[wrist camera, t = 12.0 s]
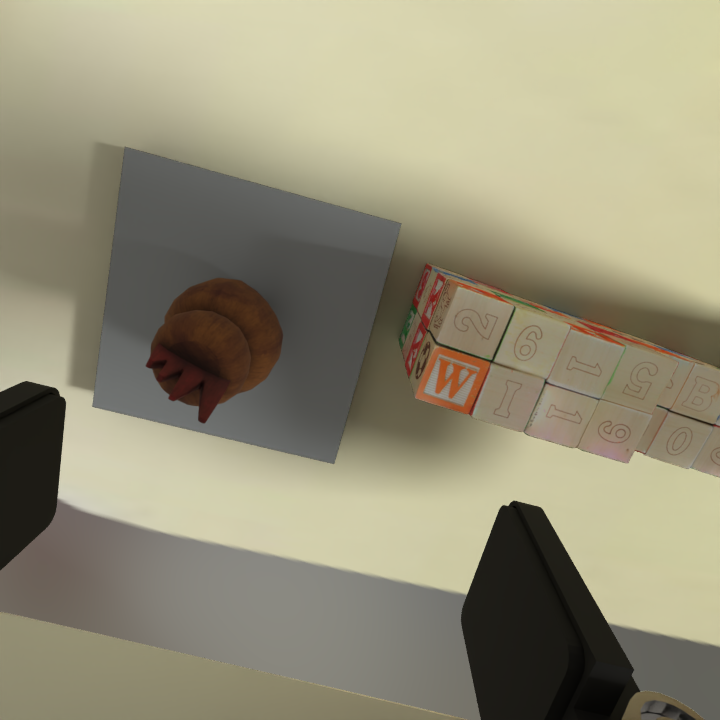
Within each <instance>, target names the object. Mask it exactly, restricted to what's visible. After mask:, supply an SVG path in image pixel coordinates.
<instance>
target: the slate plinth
mask: <svg viewBox="0 0 720 720" xmlns="http://www.w3.org/2000/svg"><path fill="white" fill-rule="evenodd" d="M400 227H401V223H397V222H394V221H390V220H387V219H383V218H379V217H376V216H372V215H369V214H365V213H361V212H358V211H354V210H351V209H347V208H343V207H340V206H336V205H333V204H329V203H325V202H322V201H318V200H315V199H311V198H307V197H304V196H300V195H297V194H293V193H289V192H286V191H282V190H279V189H275V188H272V187H268V186H264V185H261V184H257V183H254V182H250V181H246V180H243V179H239V178H236V177H232V176H228V175H225V174H221V173H218V172H214V171H210V170H207V169H203V168H200V167H196V166H192V165H189V164H185V163H182V162H178V161H174V160H171V159H167V158H164V157H160V156H157V155H153V154H149V153H146V152H142V151H139V150H135V149H131V148H128V147H125V150H124V158H123V166H122V174H121V182H120V190H119V198H118V206H117V214H116V222H115V230H114V238H113V246H112V254H111V262H110V270H109V278H108V286H107V294H106V302H105V310H104V318H103V325H102V333H101V341H100V349H99V357H98V365H97V373H96V381H95V389H94V397H93V405H92V407H95V408H99V409H104V410H108V411H112V412H116V413H121V414H125V415H129V416H133V417H137V418H142V419H146V420H150V421H154V422H159V423H163V424H167V425H171V426H175V427H180V428H184V429H188V430H192V431H196V432H201V433H205V434H209V435H213V436H218V437H222V438H226V439H230V440H234V441H239V442H243V443H247V444H251V445H256V446H260V447H264V448H268V449H272V450H277V451H281V452H285V453H289V454H294V455H298V456H302V457H306V458H310V459H315V460H319V461H323V462H327V463H332V464H334V463H335V459H336V456H337V452H338V449H339V445H340V441H341V438H342V434H343V431H344V427H345V423H346V420H347V416H348V413H349V409H350V406H351V402H352V398H353V395H354V391H355V388H356V384H357V381H358V377H359V373H360V370H361V366H362V363H363V359H364V355H365V352H366V348H367V345H368V341H369V338H370V334H371V330H372V327H373V323H374V320H375V316H376V312H377V309H378V305H379V302H380V298H381V295H382V291H383V287H384V284H385V280H386V277H387V273H388V270H389V266H390V262H391V259H392V255H393V252H394V248H395V244H396V241H397V237H398V234H399V230H400ZM215 278H226V279H235V280H241V281H243V282H244V283H246V284H247V285H249V286H250V287H252V288H253V289H255V290H256V291H257V292H258V293H259V294H260V295H261V296H262V297H263V298H264V299H265V300H266V301H267V302H268V304H269V305H270V307H271V308H272V310H273V311H274V313H275V314H276V316H277V319H278V321H279V324H280V326H281V329H282V331H283V340H282V347H281V354H280V357H279V359H278V361H277V362H276V364H275V365H274V367H273V368H272V370H271V372H270V373H269V375H268V377H267V378H266V379H265V380H264V381H263V382H261V383H260V384H258V385H257V386H256V387H254V388H253V389H251V390H249V391H246V392H242V393H239V394H236V395H235V396H233V397H232V398H231V399H229V400H228V401H226V402H225V403H221V404H217V406H216V408H215V409H214V411H213V412H212V414H211V415H210V417H209V418H208V420H207V421H206V423H205V424H203V423H201V422H199V421H198V411H199V407H198V406H191V405H187V404H185V403H182V402H180V401H178V400H176V401H171V400H169V399H168V397H169V394H168V393H166V392H165V391H164V390H163V389H162V388H161V386H160V385H159V383H158V381H157V380H156V378H155V376H154V373H153V370H152V369H150V368H147V367H146V366H145V365H146V363H147V362H148V360H149V358H150V354H151V343H152V341H153V339H154V337H155V335H156V333H157V331H158V329H159V328H160V327H161V326H162V325H163V324H164V320H165V315H166V313H167V311H168V310H169V308H170V306H171V304H172V303H173V301H174V299H176V298H177V297H178V296H179V295H180V294H182V293H183V292H184V291H185V290H187V289H188V288H189V287H191V286H194V285H197V284H200V283H203V282H206V281H209V280H212V279H215Z"/></svg>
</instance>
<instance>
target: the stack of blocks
mask: <svg viewBox="0 0 720 720" xmlns="http://www.w3.org/2000/svg"><path fill="white" fill-rule="evenodd" d="M399 344H400V348H401V351H402V353H403V357H404V360H405V367H406V370H407V374H408V378H409V379H410V381H411V385H412V389H413V393H414V396H415V399H418V400H421V401H424V402H428V403H431V404H434V405H438V406H441V407H444V408H447V409H450V410H454V411H457V412H460V413H463V414H469V415H470V416H471V417H473V418H474V419H478V420H481V421H485V422H488V423H492V424H495V425H498V426H502V427H505V428H509V429H512V430H516V431H519V432H524V433H525V434H527V435H528V436H532V437H535V438H539V439H543V440H546V441H549V442H553V443H556V444H560V445H563V446H566V447H570V448H578V449H580V450H582V451H586V452H589V453H592V454H596V455H599V456H603V457H606V458H609V459H613V460H617V461H620V462H623V463H629V461H630V459H631V457H632V455H633V453H634V451H637V452H640V453H643V454H644V455H646V456H648V457H651V458H654V459H657V460H660V461H663V462H667V463H670V464H673V465H676V466H679V467H683V468H686V469H689V468H692V469H695V470H698V471H701V472H704V473H707V474H710V475H713V476H716V477H720V368H718V367H715V366H713V365H710V364H707V363H704V362H702V361H699V360H697V359H694V358H692V357H689V356H687V355H684V354H681V353H678V352H675V351H672V350H669V349H666V348H664V347H662V346H659V345H657V344H654V343H652V342H649V341H646V340H643V339H640V338H638V337H635V336H632V335H629V334H626V333H623V332H620V331H617V330H615V329H612V328H609V327H606V326H604V325H601V324H598V323H595V322H592V321H589V320H586V319H584V318H581V317H580V318H578V317H575V316H572V315H569V314H567V313H564V312H561V311H558V310H555V309H552V308H550V307H547V306H544V305H540V304H537V303H535V302H532V301H529V300H526V299H523V298H520V297H518V296H515V295H512V294H509V293H507V292H505V291H503V290H500V289H498V288H495V287H492V286H489V285H486V284H484V283H481V282H478V281H475V280H473V279H470V278H467V277H465V276H463V275H460V274H457V273H454V272H452V271H449V270H446V269H443V268H440V267H438V266H435V265H432V264H429V263H427V264H426V267H425V269H424V272H423V275H422V277H421V280H420V283H419V286H418V288H417V291H416V294H415V297H414V299H413V304H412V307H411V309H410V312H409V314H408V317H407V320H406V322H405V325H404V328H403V330H402V333H401V335H400V338H399Z"/></svg>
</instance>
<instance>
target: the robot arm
mask: <svg viewBox="0 0 720 720" xmlns="http://www.w3.org/2000/svg"><path fill="white" fill-rule="evenodd" d="M65 410H66V401H65V399H64V398H63V397H60V394H59V391H58V390H57V389H56V388H53V387H49V386H45V385H40V384H36V383H32V382H28V381H25V382H22V383H20V384H17V385H15V386H13V387H11V388H8V389H6V390H4V391H2V392H0V570H1V569H2V568H3V567H5V566H6V565H7V564H8V563H9V562H10V561H11V560H12V559H13V558H14V557H15V556H17V555H18V554H19V553H20V552H21V551H22V550H23V549H24V548H25V547H26V546H27V545H28V544H29V543H31V542H32V541H33V540H34V539H35V538H36V537H37V536H38V535H39V534H40V533H41V532H43V531H44V530H45V529H46V528H47V527H48V526H49V524H50V523H51V521H52V519H53V517H54V515H55V512H56V507H57V496H58V485H59V475H60V464H61V453H62V442H63V431H64V421H65ZM461 624H462V629H463V635H464V639H465V644H466V649H467V654H468V659H469V663H470V669H471V673H472V678H473V683H474V688H475V693H476V697H477V703H478V708H479V712H480V717H481V720H705V719H704V718H702V717H701V716H700V715H698V714H697V713H696V712H695V711H693V710H692V709H691V708H689V707H687V706H686V705H684V704H682V703H681V702H679V701H677V700H676V699H674V698H671V697H669V696H666V695H664V694H661V693H657V692H651V691H642V692H640V690H639V688H638V687H637V685H636V683H635V681H634V679H633V677H632V676H631V675H632V673H633V671H634V669H633V667H632V666H631V664H630V662H629V660H628V658H627V657H626V655H625V653H624V651H623V650H622V648H621V646H620V644H619V643H618V641H617V639H616V637H615V635H614V634H613V632H612V630H611V628H610V627H609V625H608V623H607V621H606V620H605V618H604V616H603V614H602V613H601V611H600V609H599V607H598V606H597V604H596V602H595V600H594V599H593V597H592V595H591V593H590V592H589V590H588V588H587V586H586V585H585V583H584V581H583V579H582V578H581V576H580V574H579V572H578V571H577V569H576V567H575V565H574V564H573V562H572V560H571V558H570V557H569V555H568V553H567V551H566V550H565V548H564V546H563V544H562V542H561V541H560V539H559V537H558V535H557V534H556V532H555V530H554V528H553V527H552V525H551V523H550V521H549V520H548V518H547V516H546V514H545V513H544V511H543V509H542V508H541V507H538V506H534V505H529V504H525V503H521V502H517V501H512V502H511V503H510V504H509V506H505V505H503V506H502V507H501V508H500V510H499V512H498V514H497V517H496V520H495V522H494V525H493V528H492V530H491V533H490V536H489V538H488V541H487V544H486V546H485V549H484V552H483V554H482V557H481V560H480V562H479V565H478V568H477V570H476V573H475V576H474V578H473V581H472V584H471V586H470V589H469V591H468V594H467V597H466V599H465V602H464V605H463V608H462V614H461ZM0 720H468V719H463V718H459V717H455V716H451V715H446V714H442V713H438V712H434V711H430V710H425V709H421V708H417V707H413V706H409V705H404V704H400V703H396V702H391V701H387V700H383V699H379V698H375V697H370V696H366V695H362V694H357V693H353V692H349V691H345V690H341V689H336V688H332V687H327V686H323V685H319V684H314V683H310V682H306V681H301V680H297V679H293V678H288V677H284V676H280V675H275V674H271V673H266V672H262V671H258V670H253V669H249V668H244V667H240V666H236V665H232V664H227V663H222V662H218V661H214V660H210V659H205V658H201V657H197V656H192V655H188V654H184V653H179V652H175V651H171V650H166V649H162V648H158V647H153V646H149V645H145V644H140V643H135V642H131V641H127V640H123V639H118V638H114V637H110V636H105V635H101V634H97V633H92V632H88V631H84V630H79V629H75V628H71V627H66V626H61V625H58V624H53V623H49V622H45V621H40V620H36V619H32V618H27V617H22V616H18V615H14V614H9V613H5V612H1V611H0Z"/></svg>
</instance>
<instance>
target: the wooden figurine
mask: <svg viewBox="0 0 720 720" xmlns="http://www.w3.org/2000/svg"><path fill="white" fill-rule="evenodd" d="M282 340H283V331H282V329H281V326H280V324H279V321H278V319H277V316H276V314H275V313H274V311H273V310H272V308H271V307H270V305H269V304H268V302H267V301H266V300H265V299H264V298H263V297H262V296H261V295H260V294H259V293H258V292H257V291H256V290H255V289H253V288H252V287H250V286H249V285H247V284H246V283H244V282H243V281H241V280H235V279H226V278H215V279H212V280H209V281H206V282H203V283H200V284H197V285H194V286H191V287H189V288H188V289H187V290H185V291H184V292H183V293H182V294H180V295H179V296H178V297H177V298H176V299H174V301H173V303H172V304H171V306H170V308H169V310H168V311H167V313H166V315H165V320H164V324H163V325H162V326H161V327H160V328H159V329H158V331H157V333H156V335H155V337H154V339H153V341H152V343H151V354H150V358H149V360H148V362H147V363H146V365H145V366H146V367H147V368H150V369H152V370H153V373H154V376H155V378H156V380H157V381H158V383H159V385H160V386H161V388H162V389H163V390H164V391H165V392H166V393H168V394H169V397H168V399H169V400H171V401H176V400H178V401H180V402H182V403H185V404H187V405H191V406H198V407H199V411H198V421H199V422H201V423H203V424H205V423H206V421H207V420H208V418H209V417H210V415H211V414H212V412H213V411H214V409H215V408H216V406H217V404H221V403H225V402H226V401H228V400H229V399H231V398H232V397H233V396H235V395H236V394H239V393H242V392H246V391H249V390H251V389H253V388H254V387H256V386H257V385H258V384H260V383H261V382H263V381H264V380H265V379H266V378H267V377H268V375H269V373H270V372H271V370H272V368H273V367H274V365H275V364H276V362H277V361H278V359H279V357H280V354H281V347H282Z"/></svg>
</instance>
